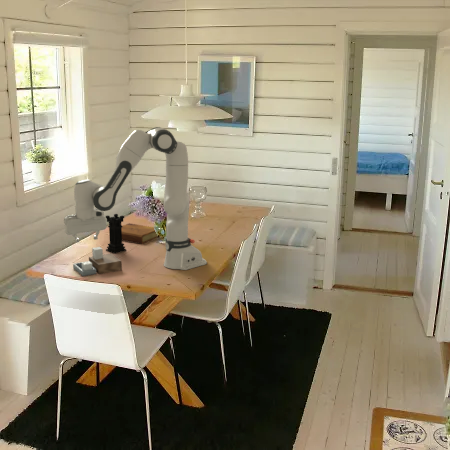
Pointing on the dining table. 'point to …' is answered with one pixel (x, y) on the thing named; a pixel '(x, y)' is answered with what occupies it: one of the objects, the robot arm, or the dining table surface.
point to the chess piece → (115, 234)
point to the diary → (138, 233)
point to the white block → (97, 252)
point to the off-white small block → (86, 266)
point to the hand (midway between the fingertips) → (86, 240)
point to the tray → (79, 269)
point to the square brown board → (106, 264)
